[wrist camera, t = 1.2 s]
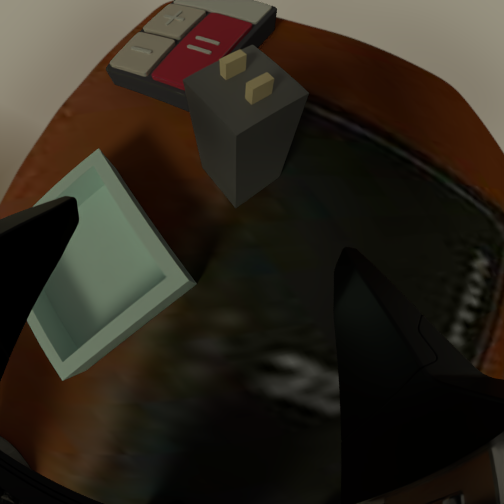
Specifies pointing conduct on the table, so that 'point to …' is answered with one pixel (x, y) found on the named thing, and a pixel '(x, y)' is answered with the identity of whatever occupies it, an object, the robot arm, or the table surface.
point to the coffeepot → (11, 454)
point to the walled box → (103, 272)
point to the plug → (244, 120)
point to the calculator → (188, 44)
